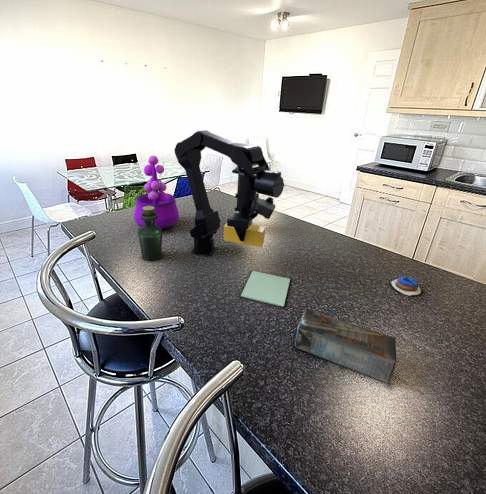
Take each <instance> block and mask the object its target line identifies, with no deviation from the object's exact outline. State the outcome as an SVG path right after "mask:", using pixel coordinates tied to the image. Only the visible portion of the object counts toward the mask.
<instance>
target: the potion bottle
mask: <svg viewBox="0 0 486 494" xmlns="http://www.w3.org/2000/svg"><path fill="white" fill-rule="evenodd" d="M143 212H144V213H142V214H141V217H140V219H141V220H143V221H144V223H145V226H143V227H141V226H140V228H139V229H138V231H137V236H138V241H139V246H140V253H141V256H142V259H144V260H146V261H150V262H153V261H156V260H158V259H160V258H161V257H162V249H163V228H162V229H161V228H160V227H159V226H157V225H154V222H155V220H156V219H158V215H157V213H155V212H154V207H153V206H145V207H143Z"/></svg>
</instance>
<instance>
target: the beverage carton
mask: <svg viewBox="0 0 486 494" xmlns="http://www.w3.org/2000/svg"><path fill="white" fill-rule="evenodd" d="M396 342H397V341H396V337H395V336H391V335H388V334H385V333H382V332H379V331H376V330H372V329H370V328H366V327H364V326H360V325H356V324H354V323H351V322H346V321H343V320H340V319H337V318H334V317H332V316H329V315H324V314H322V313H318V312H317V311H313V310H309V309H307V308H306V309H304V312H303V314H302V316H301V319H300V321H299V323H298V326H297V329H296V336H295V340H294V348H296V349H298V350H301V351H304V352H306V353H309V354H310V355H313V356H316V357H319V358H322V359H324V360H327V361H329V362H332V363H335V364H336V365H337V364H338V365H339V366H343V367H345V368H347V369H350V370H353V371H355V372H357V373H361V374H363V375H366V376H368V377H371V378H374V379H376V380H379V381H381V382H384V383H386V384H389V383H390V380H391V379H392V376H393V373H394V371H395V367H396V364H397V343H396Z"/></svg>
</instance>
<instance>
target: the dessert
mask: <svg viewBox="0 0 486 494" xmlns="http://www.w3.org/2000/svg"><path fill="white" fill-rule="evenodd" d="M390 284H391V286H392V287H393V288H394V289H395V290H396V291H398V292H399V293H400V294H403V295H405V296H419V295H420V294H421V293H422V289H421V288H420V284H419V283H418V281H417V279H416V278H412V277H409V276H407V275H405V274H403V275H402V276H399V277H398V278H397V279H396V278H395V279H394V280H392V281H391V283H390Z"/></svg>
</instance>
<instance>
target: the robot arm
mask: <svg viewBox="0 0 486 494" xmlns="http://www.w3.org/2000/svg"><path fill="white" fill-rule="evenodd" d="M206 148H207V149H209V150H212V151H215V152H217V153H219V154H221V155H224V156H226V157H228V158H229V159H230V160H231V162H232V163H233V164H234V165H236V167H235V168H234V169H233V170H231V173H232V174H235V175H237V188H236V189H237V191H236V193H235V195H234V198H236V206H235V207H234V212H233V213H231V214H230V215H229V217H227V219H226V223H227V226H229V227H234V229H235V231H236V233H237V235H238V237H239V239H240V241H242V242H243V241H244V239H245V235H246V231H247V229H248V228H249V227H250V226H251V225H253V223H254V222H253V220H254V219H256V218H257V216H258V215H260V216H261V217H263V218H265V219H267V220H270V219H271V217H272V214H273V213H274V211H275V209H276V207H277V206H276V204H275V203H274V198H279V197H281V195H282V193H283V191H284V188H285V183H284V178H283V177H282V171H273V170H271V167H270V166H269V164H268V162H267V160H266V158H265V155H264V152H263V150H262V147H261V146H259V145H257V144H252V143H240V142H235V141H234V140H231V139H228V138H226V137H223V136H220V135H218V134H215V133H214V132H213V133H212V132H211V131H210V130H207V129H206V130H205V129H204V130H197V131H195V132H194V133H193V134H192V135H190V136H188V137H187V138H185V139H183V140H181V141H179V142H177V143H176V144H175V147H174V155H175V157H176V160H177V163H178V164H179V165H180V166H181V167H182V168H183V170H184V171H185V174H186V178H187V182H188V186H189V189H190V192H191V195H192V199H193V202H194V203H193V204H194V207H195V214H194V215H195V217H194V226H193V228H191V229H190V230H189V234H190V237H191V238H193V249H192V251H191V253H193V254H198V255H203V256H210V255H211V253H212V252H213V251H214V250H215V249H216V248H215V238H214V235H216V234H217V232H218V230H220V227H221V222H222V220H221V218H220V215H219V211H218V210H214V209H213V208H212V207H211V205H210V201H209V197H208V193H207V190H206V186H205V182H204V177H203V174H202V171H201V167H200V166H201V161H202V151H203V150H205V149H206ZM260 195H264V196H267V198H261V197H260ZM237 211H238V212H239V213H237Z"/></svg>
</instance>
